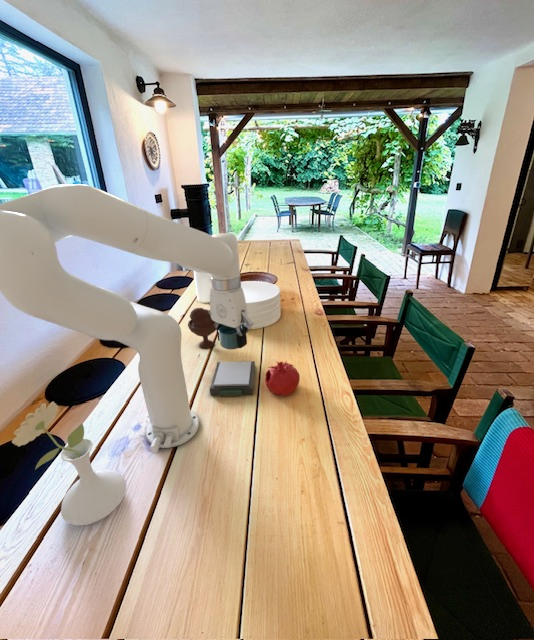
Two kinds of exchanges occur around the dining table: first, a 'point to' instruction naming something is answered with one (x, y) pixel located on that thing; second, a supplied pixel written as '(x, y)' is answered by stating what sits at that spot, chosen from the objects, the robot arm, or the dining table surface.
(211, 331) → the ice cream bowl
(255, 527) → the dining table surface
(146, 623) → the dining table surface
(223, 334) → the teal cup
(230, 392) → the scale
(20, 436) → the flower in vase
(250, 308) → the plate stack
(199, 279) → the alcohol
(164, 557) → the dining table surface
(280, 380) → the pomegranate
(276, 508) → the dining table surface
